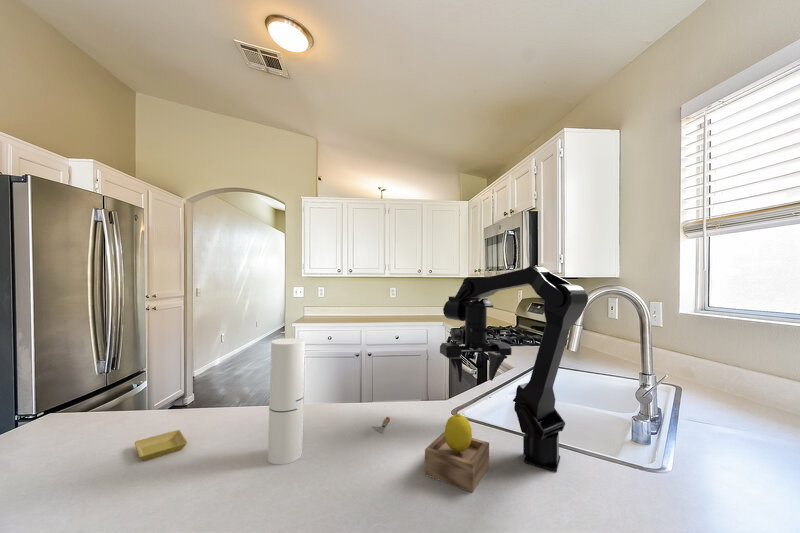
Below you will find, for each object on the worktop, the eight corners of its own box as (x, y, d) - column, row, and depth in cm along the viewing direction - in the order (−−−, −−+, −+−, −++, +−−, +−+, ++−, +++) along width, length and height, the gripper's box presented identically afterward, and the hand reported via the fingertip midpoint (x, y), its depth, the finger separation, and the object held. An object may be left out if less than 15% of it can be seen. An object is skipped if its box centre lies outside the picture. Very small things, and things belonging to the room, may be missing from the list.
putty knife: (359, 445, 79) (379, 446, 78) (358, 439, 79) (378, 441, 78) (373, 419, 92) (390, 420, 91) (373, 414, 92) (390, 416, 91)
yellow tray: (187, 451, 73) (187, 442, 73) (138, 466, 67) (139, 456, 67) (179, 438, 80) (179, 429, 80) (133, 450, 73) (134, 441, 74)
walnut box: (489, 466, 69) (489, 442, 69) (472, 492, 60) (472, 464, 60) (445, 452, 74) (445, 430, 74) (424, 474, 65) (425, 449, 66)
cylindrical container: (308, 451, 74) (311, 340, 75) (285, 467, 67) (288, 345, 68) (284, 444, 77) (287, 337, 78) (260, 459, 70) (264, 342, 71)
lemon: (474, 460, 64) (474, 419, 65) (446, 460, 64) (446, 419, 65) (468, 446, 70) (469, 408, 70) (443, 445, 70) (443, 408, 70)
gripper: (492, 319, 99) (492, 371, 98) (433, 319, 95) (433, 374, 94) (512, 324, 88) (512, 382, 87) (447, 325, 84) (447, 386, 83)
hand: (475, 381), depth 88 cm, fingers open, 9 cm apart
